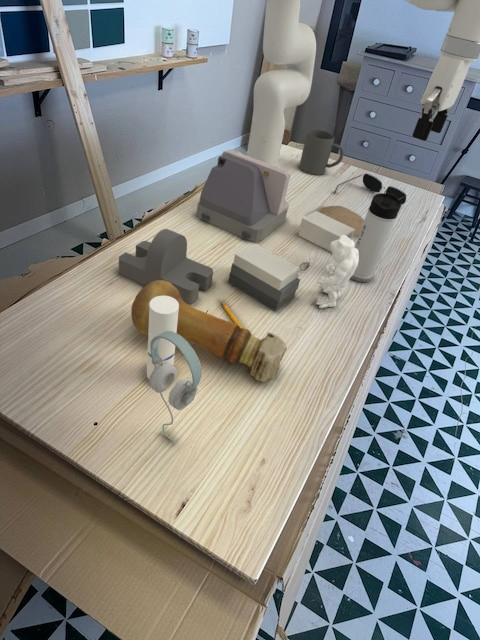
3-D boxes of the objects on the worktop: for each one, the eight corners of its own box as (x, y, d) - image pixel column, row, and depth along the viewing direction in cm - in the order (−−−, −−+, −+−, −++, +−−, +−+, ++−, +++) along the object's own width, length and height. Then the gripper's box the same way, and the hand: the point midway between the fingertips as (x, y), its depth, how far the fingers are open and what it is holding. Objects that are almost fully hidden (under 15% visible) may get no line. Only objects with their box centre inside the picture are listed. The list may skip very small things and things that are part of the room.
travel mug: (374, 273, 114) (405, 197, 101) (368, 286, 109) (400, 208, 96) (349, 264, 115) (377, 188, 103) (343, 276, 110) (371, 198, 98)
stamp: (275, 397, 78) (274, 326, 69) (131, 363, 86) (114, 296, 77) (292, 358, 85) (293, 290, 76) (158, 330, 94) (145, 265, 85)
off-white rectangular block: (297, 235, 123) (302, 218, 119) (311, 227, 127) (316, 210, 124) (337, 255, 118) (343, 238, 114) (350, 246, 122) (355, 229, 119)
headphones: (138, 428, 69) (141, 328, 57) (159, 414, 72) (166, 315, 59) (177, 464, 66) (189, 365, 53) (197, 447, 68) (213, 350, 56)
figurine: (336, 318, 98) (359, 258, 88) (307, 307, 99) (326, 246, 89) (347, 292, 106) (370, 234, 96) (320, 282, 107) (339, 224, 97)
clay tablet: (367, 226, 133) (370, 217, 131) (353, 238, 126) (356, 229, 124) (323, 207, 138) (326, 198, 137) (307, 217, 131) (309, 208, 130)
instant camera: (294, 223, 127) (308, 171, 118) (247, 247, 114) (258, 190, 104) (236, 193, 136) (244, 142, 126) (185, 212, 123) (190, 156, 113)
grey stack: (227, 282, 101) (231, 263, 98) (247, 270, 106) (251, 252, 103) (276, 311, 96) (281, 292, 93) (294, 298, 101) (300, 279, 98)
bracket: (143, 253, 105) (144, 210, 98) (213, 283, 100) (219, 240, 93) (116, 272, 98) (115, 227, 91) (190, 305, 93) (195, 260, 86)
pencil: (265, 368, 83) (266, 365, 83) (219, 303, 95) (220, 300, 95) (269, 367, 84) (270, 364, 83) (223, 302, 96) (223, 300, 95)
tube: (147, 364, 79) (150, 294, 70) (172, 365, 80) (179, 296, 70) (145, 383, 76) (148, 312, 67) (172, 384, 77) (178, 314, 67)
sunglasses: (403, 208, 147) (408, 193, 143) (374, 223, 140) (378, 208, 136) (361, 185, 156) (365, 171, 152) (332, 198, 149) (335, 183, 145)
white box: (233, 264, 98) (234, 254, 96) (252, 252, 103) (254, 243, 101) (279, 290, 93) (281, 280, 92) (297, 277, 98) (300, 268, 96)
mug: (295, 169, 157) (303, 133, 150) (303, 161, 164) (312, 127, 157) (333, 182, 154) (343, 146, 147) (340, 173, 161) (350, 138, 153)
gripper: (455, 42, 101) (423, 123, 112) (429, 46, 89) (396, 136, 100) (489, 51, 98) (453, 133, 109) (467, 56, 86) (429, 147, 97)
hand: (426, 134), depth 104 cm, fingers open, 9 cm apart
